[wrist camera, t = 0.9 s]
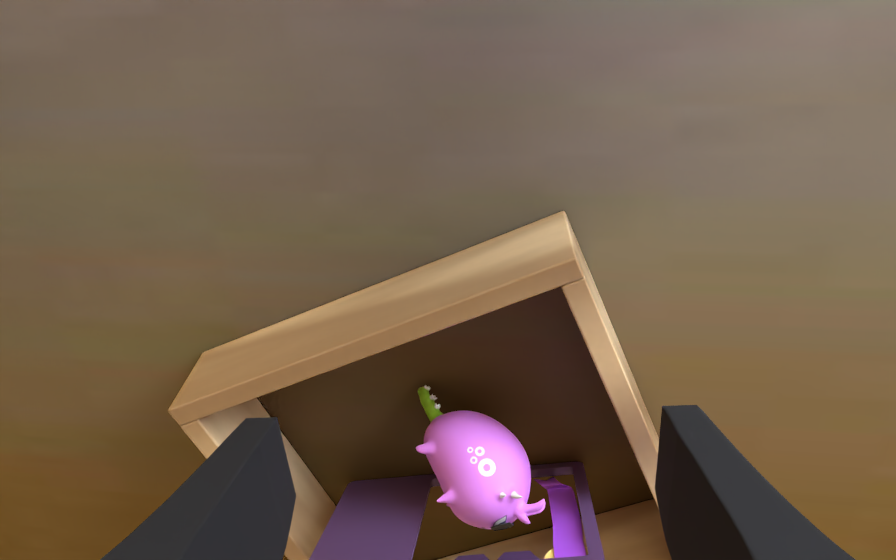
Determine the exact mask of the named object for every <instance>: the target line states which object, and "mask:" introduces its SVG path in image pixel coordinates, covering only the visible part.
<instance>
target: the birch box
mask: <svg viewBox="0 0 896 560" xmlns="http://www.w3.org/2000/svg"><path fill="white" fill-rule="evenodd" d="M560 286H561V288H562V291H563V293H564V295H565V297H566V300H567V302H568V304H569V307H570V309H571V311H572V313H573V316H574V318H575V320H576V322H577V325H578V327H579V329H580V332H581V334H582V336H583V338H584V341H585V343H586V345H587V347H588V350H589V352H590V354H591V357H592V359H593V361H594V363H595V366H596V368H597V370H598V372H599V375H600V377H601V379H602V382H603V384H604V386H605V388H606V391H607V393H608V395H609V397H610V400H611V402H612V404H613V407H614V409H615V411H616V413H617V416H618V418H619V420H620V422H621V425H622V427H623V429H624V432H625V434H626V436H627V438H628V441H629V443H630V445H631V447H632V450H633V452H634V454H635V457H636V459H637V461H638V463H639V466H640V468H641V470H642V472H643V475H644V477H645V479H646V482H647V484H648V486H649V488H650V491H651V493H652V495H653V497H654V499H651V500H648V501H644V502H641V503H637V504H634V505H630V506H626V507H623V508H619V509H616V510H612V511H609V512H605V513H601V514H598V515H595V518H596V522H597V526H598V531H599V535H600V540H601V544H602V548H603V553H604V557H605V560H672V559H671V556H670V553H669V550H668V547H667V544H666V540H665V536H664V531H663V527H662V522H661V517H660V512H659V507H658V502H657V497H656V492H655V480H656V469H657V458H658V448H659V438H658V435H657V433H656V430H655V428H654V426H653V423H652V421H651V418H650V416H649V414H648V411H647V409H646V406H645V404H644V401H643V399H642V397H641V394H640V392H639V389H638V387H637V384H636V382H635V380H634V377H633V375H632V372H631V370H630V368H629V365H628V363H627V360H626V358H625V355H624V353H623V351H622V348H621V346H620V343H619V341H618V338H617V336H616V334H615V331H614V329H613V326H612V324H611V322H610V319H609V317H608V314H607V312H606V309H605V307H604V305H603V302H602V300H601V297H600V295H599V292H598V290H597V288H596V285H595V283H594V280H593V278H592V276H591V273H590V271H589V268H588V266H587V263H586V261H585V259H584V256H583V254H582V251H581V249H580V246H579V244H578V242H577V239H576V237H575V234H574V232H573V230H572V227H571V225H570V222H569V220H568V218H567V215H566V213H565V212H564V211H561V212H559V213H556V214H554V215H551V216H548V217H546V218H543V219H541V220H538V221H536V222H533V223H531V224H528V225H526V226H523V227H521V228H518V229H515V230H513V231H510V232H508V233H505V234H503V235H500V236H498V237H495V238H493V239H490V240H487V241H485V242H482V243H480V244H477V245H475V246H472V247H470V248H467V249H465V250H462V251H459V252H457V253H454V254H452V255H449V256H447V257H444V258H442V259H439V260H437V261H434V262H431V263H429V264H426V265H424V266H421V267H419V268H416V269H414V270H411V271H409V272H406V273H404V274H401V275H398V276H396V277H393V278H391V279H388V280H386V281H383V282H381V283H378V284H376V285H373V286H370V287H368V288H365V289H363V290H360V291H358V292H355V293H353V294H350V295H348V296H345V297H342V298H340V299H337V300H335V301H332V302H330V303H327V304H325V305H322V306H320V307H317V308H315V309H312V310H309V311H307V312H304V313H302V314H299V315H297V316H294V317H292V318H289V319H287V320H284V321H281V322H279V323H276V324H274V325H271V326H269V327H266V328H264V329H261V330H259V331H256V332H253V333H251V334H248V335H246V336H243V337H241V338H238V339H236V340H233V341H231V342H228V343H225V344H223V345H220V346H218V347H215V348H213V349H210V350H208V351H205V352H203V353H202V355H201V356H200V358H199V360H198V361H197V363H196V365H195V366H194V368H193V370H192V371H191V373H190V374H189V376H188V378H187V379H186V381H185V383H184V384H183V386H182V388H181V389H180V391H179V392H178V394H177V396H176V397H175V399H174V401H173V402H172V404H171V406H170V407H169V409H168V412H169V413H170V415H171V416H172V417H173V418H174V420H175V421H176V422H177V423H178V424H179V425H181V428H182V430H183V431H184V432H185V433H186V435H187V436H188V437H189V438H190V439H191V441H192V442H193V443H194V444H195V446H196V447H197V448H198V449H199V450H200V452H201V453H202V454H203V455H204V457H205V458H206V459H207V458H208V457H209V456H210V455H211V454H212V453H213V452H214V451H215V450H216V449H217V448H218V447H219V446H220V445H221V444H222V443H223V441H224V440H225V439H226V438H227V437H228V436H229V435H230V434H231V433H232V432H233V431H234V430H235V429H236V428H237V427H238V426H239V425H240V424H241V423H242V422H243V421H244V420H245V419H246V418H268V417H270V416H269V414H268V413H267V411H266V410H265V409H264V407H263V406H262V405H261V403H260V402H259V401H258V399H257V397H260V396H263V395H265V394H268V393H271V392H274V391H276V390H279V389H282V388H284V387H287V386H290V385H293V384H295V383H298V382H301V381H304V380H306V379H309V378H312V377H314V376H317V375H320V374H323V373H325V372H328V371H331V370H334V369H336V368H339V367H342V366H345V365H347V364H350V363H353V362H355V361H358V360H361V359H364V358H366V357H369V356H372V355H375V354H377V353H380V352H383V351H385V350H388V349H391V348H394V347H396V346H399V345H402V344H405V343H407V342H410V341H413V340H416V339H418V338H421V337H424V336H426V335H429V334H432V333H435V332H437V331H440V330H443V329H446V328H448V327H451V326H454V325H456V324H459V323H462V322H465V321H467V320H470V319H473V318H476V317H478V316H481V315H484V314H487V313H489V312H492V311H495V310H497V309H500V308H503V307H506V306H508V305H511V304H514V303H517V302H519V301H522V300H525V299H527V298H530V297H533V296H536V295H538V294H541V293H544V292H547V291H549V290H552V289H555V288H558V287H560ZM281 435H282V439H283V444H284V448H285V452H286V456H287V460H288V464H289V468H290V472H291V476H292V480H293V484H294V488H295V492H296V500H295V505H294V511H293V516H292V522H291V527H290V531H289V536H288V541H287V546H286V549H285V552H284V554H285V556H286V557H287V558H288V559H289V560H309V559H310V557H311V555H312V553H313V551H314V549H315V547H316V545H317V543H318V541H319V539H320V537H321V535H322V533H323V532H324V530H325V528H326V526H327V524H328V522H329V520H330V518H331V516H332V514H333V512H334V510H335V508H336V506H335V504H334V503H333V501H332V500H331V499H330V497H329V496H328V495H327V493H326V492H325V491H324V489H323V488H322V486H321V485H320V484H319V482H318V481H317V480H316V478H315V477H314V476H313V474H312V473H311V471H310V470H309V469H308V467H307V466H306V465H305V463H304V462H303V461H302V459H301V458H300V456H299V455H298V454H297V452H296V451H295V450H294V448H293V447H292V446H291V444H290V443H289V441H288V440H287V439H286V437H285V436H284V435H283V433H282V432H281ZM581 524H582V532H583V542H584V546H586V547H587V543H586V538H585V533H584V528H583V522H582V519H581ZM551 549H553V527H551V528H548V529H544V530H541V531H537V532H533V533H530V534H526V535H523V536H519V537H516V538H512V539H508V540H505V541H501V542H498V543H494V544H491V545H487V546H483V547H480V548H476V549H473V550H469V551H466V552H462V553H458V554H455V555H451V556H448V557H444V558H441V559H437V560H455V559H456V558H457V557H458V556H463V555H476V554H484V555H485V556H486V557H487V558H488V559H489V560H497V559H498V558H499V557H500V556H501V555H502V554H503V553H504V552H517V551H531V552H532V553H533V554H534V555H535V556H537V557H538V558H539V559H544V557H545V555H546V553H547V552H548V551H550V550H551Z"/></svg>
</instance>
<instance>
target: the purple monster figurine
mask: <svg viewBox="0 0 896 560" xmlns="http://www.w3.org/2000/svg"><path fill="white" fill-rule="evenodd" d="M429 387H430V386H429ZM429 387H426V385H425V387H420V388H419V389H418V394H419V397H420V401H421V404H422V406H423V407H424V409H425V412H426V414H427V416H428V418H429V420H430V422H431V423H430V425H429V426H428V428H427V429H426V432H425V435H424V444H422V445H419V446H417V447H416V450H417V451H418V452H420V453H422V454H426V457H427V458H428V461H429V463H430V465H431V467H432V469H433V471H434V473H435V474H429V475H418V476H407V477H396V478H384V479H373V480H362V481H353V482H350V483H349V484H348V485H347V487H346V489H345V491H344V493H343V495H342V497H341V499H340V501H339V502H338V504H337V506H336V508H335V510H334V512H333V514H332V516H331V518H330V520H329V522H328V524H327V526H326V528H325V530H324V532H323V533H322V535H321V537H320V539H319V541H318V543H317V545H316V547H315V549H314V551H313V553H312V555H311V557H310V559H309V560H412V558H413V554H414V550H415V546H416V543H417V539H418V535H419V531H420V527H421V523H422V519H423V515H424V511H425V508H426V504H427V500H428V496H429V492H430V488H431V487H433V486H441V488H442V490H443V492H444V495H442V496H441V497H440V498H439V499H438V500H437V502H439V503H447V506H448V507H450V508H451V510H452V511H453V513H454V514H455V515H456V516H457V517H458V518H459V519H460V520H462V521H463V522H465V523H467V524H469V525H472V526H475V527H478V528H483V529H492V530H494V531H497V530H503V529H506V528H510V527H512V526H514V523H513V522H514V521H515V520H516V519H517V518H518V519H519V520H520V521H521V522H523V523H525V524H530V521H529V519H528V516H530V515H535V514H539V513H541V512H542V511H543V510H544V508H545V505H546V502H545V499H542V500H540V501H539V502H537V503H534V504H527V501H528V498H529V493H530V487H531V478H536V477H547V476H559V475H570V474H573V475H574V480H575V485H576V490H577V496H578V501H579V506H580V512H581V517H582V522H583V528H584V533H585V538H586V543H587V547H586V546H584V542H583V532H582V524H581V518H580V514H579V510H578V506H577V502H576V498H575V494H574V490H573V489H572V488H571V487H570V486H568V485H564V484H561V483H560V482H558V481H557V480H556V479H555V477H552V478H550V479H548V480H546V481H544V480H539V479H534V480H535V481H536V482H537V483H539V484H540V485H541V486H543V487H544V488H545V489H547V491H548V497H549V503H550V509H551V515H552V522H553V549H551V550H550V551H548V552H547V553H546V555H545V557H544V559H539V558H538V557H537V556H535V555H534V554H533V553H532V552H531V551H517V552H504V553H503V554H502V555H501V556H500V557H499V558H498V559H497V560H605V557H604V553H603V548H602V544H601V540H600V535H599V531H598V526H597V522H596V518H595V513H594V509H593V504H592V500H591V496H590V491H589V487H588V482H587V478H586V474H585V469H584V465H583V463H582V462H565V463H554V464H542V465H531V466H530V463H529V459H528V456H527V454H526V451H525V449H524V448H523V446H522V444H521V443H520V441H519V440H518V439H517V438H516V437H515V435H514V434H513V433H512V432H511V431H509V430H508V429H507V428H506V427H505V426H504V425H502V424H501V423H500V422H498V421H497V420H495V419H493V418H491V417H489V416H487V415H485V414H482V413H479V412H474V411H454V412H449V413H446V414H443V413H442V412H440V410H439V409H440V407H441V405H440V404H438V405H437V403H435V402H434V401H435V400H436V399H437V398H436V397H435V396H436V395H434V396H433V394H432V395H430V394H429V390H430V389H431V388H429ZM434 397H435V398H434ZM439 405H440V406H439ZM455 560H489V559H488V558H487V557H486V556H485V555H484V554H476V555H463V556H458V557H457V558H456V559H455Z"/></svg>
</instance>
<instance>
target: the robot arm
mask: <svg viewBox="0 0 896 560" xmlns="http://www.w3.org/2000/svg"><path fill="white" fill-rule="evenodd" d="M655 492H656V497H657V502H658V507H659V512H660V517H661V522H662V527H663V531H664V536H665V540H666V544H667V547H668V550H669V553H670V556H671V559H672V560H855V559H854V558H852V557H851V556H850V555H849V554H847V553H846V552H845V551H844V550H842V549H841V548H840V547H839V546H837V545H836V544H835V543H834V542H832V541H831V540H830V539H829V538H828V537H827V536H826V535H824V534H823V533H822V532H821V531H820V530H819V529H817V528H816V527H815V526H814V525H813V524H812V523H811V522H810V521H809V520H808V519H806V518H805V517H804V516H803V515H802V514H801V513H800V512H799V511H798V510H797V509H796V508H794V507H793V506H792V505H791V504H790V503H789V502H788V501H787V500H786V499H785V498H784V497H783V496H782V495H781V494H780V493H779V492H778V491H777V490H776V489H775V488H774V487H773V486H772V485H771V484H770V483H769V482H768V481H767V480H766V479H765V478H764V477H763V476H762V475H761V474H760V473H759V472H758V471H757V470H756V469H755V468H754V467H753V466H752V465H751V464H750V463H749V462H748V461H747V459H746V458H745V457H744V456H743V455H742V454H741V453H740V452H739V451H738V450H737V449H736V448H735V447H734V445H733V444H732V443H731V442H730V441H729V440H728V439H727V438H726V437H725V436H724V434H723V433H722V432H721V431H720V430H719V429H718V428H717V427H716V425H715V424H714V423H713V422H712V421H711V420H710V419H709V417H708V416H707V415H706V414H705V413H704V412H703V411H702V410H701V409H700V408H699V407H698V406H697V405H683V406H662V416H661V427H660V437H659V448H658V458H657V469H656V480H655ZM295 500H296V492H295V488H294V484H293V480H292V476H291V472H290V468H289V464H288V460H287V456H286V452H285V448H284V444H283V439H282V435H281V431H280V427H279V423H278V419H277V417H268V418H246V419H245V420H244V421H243V422H242V423H241V424H240V425H239V426H238V427H237V428H236V429H235V430H234V431H233V432H232V433H231V434H230V435H229V436H228V437H227V438H226V439H225V440H224V441H223V443H222V444H221V445H220V446H219V447H218V448H217V449H216V450H215V451H214V452H213V453H212V454H211V455H210V456H209V457H208V458H207V459H206V460H205V462H204V463H203V464H202V465H201V466H200V467H199V468H198V469H197V470H196V471H195V472H194V473H193V474H192V475H191V476H190V477H189V478H188V479H187V480H186V481H185V482H184V483H183V484H182V485H181V486H180V487H179V488H178V489H177V490H176V491H175V492H174V493H173V494H172V495H171V496H170V497H169V498H168V499H167V500H166V501H165V502H164V503H163V504H162V505H161V506H160V507H159V508H158V509H157V510H156V511H154V512H153V513H152V514H151V515H150V516H149V517H148V518H147V519H146V520H145V521H144V522H143V523H142V524H141V525H139V526H138V527H137V528H136V529H135V530H134V531H133V532H132V533H131V534H130V535H129V536H128V537H126V538H125V539H124V540H123V541H122V542H121V543H120V544H118V545H117V546H116V547H115V548H114V549H112V550H111V551H110V552H109V553H108V554H106V555H105V556H104V557H103V558H101V559H100V560H282V559H283V555H284V552H285V549H286V546H287V541H288V536H289V531H290V527H291V522H292V516H293V511H294V505H295Z"/></svg>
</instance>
